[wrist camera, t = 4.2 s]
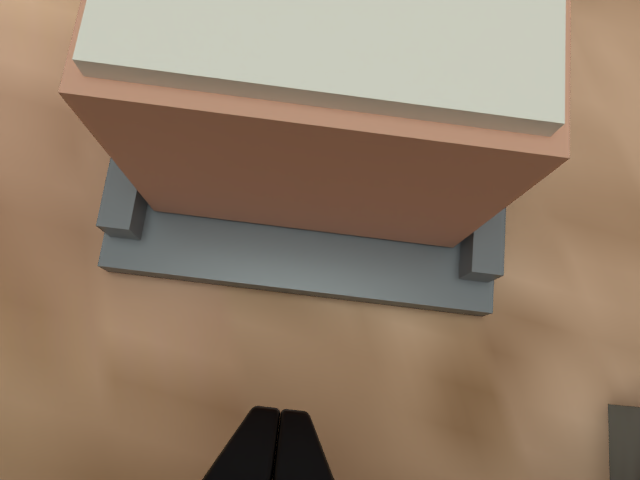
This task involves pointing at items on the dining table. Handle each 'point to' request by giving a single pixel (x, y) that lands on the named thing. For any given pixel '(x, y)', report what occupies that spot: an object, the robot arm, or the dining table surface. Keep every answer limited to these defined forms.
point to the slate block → (624, 442)
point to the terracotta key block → (328, 108)
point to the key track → (298, 256)
